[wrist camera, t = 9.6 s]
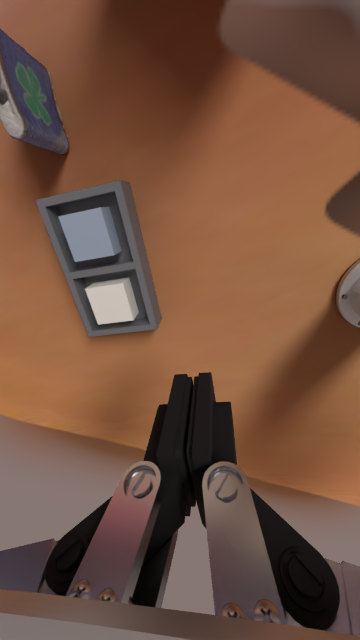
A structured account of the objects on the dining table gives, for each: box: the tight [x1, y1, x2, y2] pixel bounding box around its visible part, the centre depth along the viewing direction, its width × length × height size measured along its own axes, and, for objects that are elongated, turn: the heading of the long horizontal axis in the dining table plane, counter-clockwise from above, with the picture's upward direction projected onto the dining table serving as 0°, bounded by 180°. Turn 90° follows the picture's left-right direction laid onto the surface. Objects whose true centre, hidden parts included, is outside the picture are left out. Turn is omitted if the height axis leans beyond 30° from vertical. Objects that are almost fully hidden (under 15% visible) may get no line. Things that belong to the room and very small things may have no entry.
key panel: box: [35, 180, 162, 337], centre depth 37 cm, size 12×21×4 cm, turn 10°
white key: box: [85, 277, 139, 325], centre depth 37 cm, size 6×6×3 cm
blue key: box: [58, 207, 121, 262], centre depth 33 cm, size 6×6×3 cm
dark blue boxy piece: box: [0, 29, 69, 154], centre depth 26 cm, size 9×3×11 cm, turn 8°
